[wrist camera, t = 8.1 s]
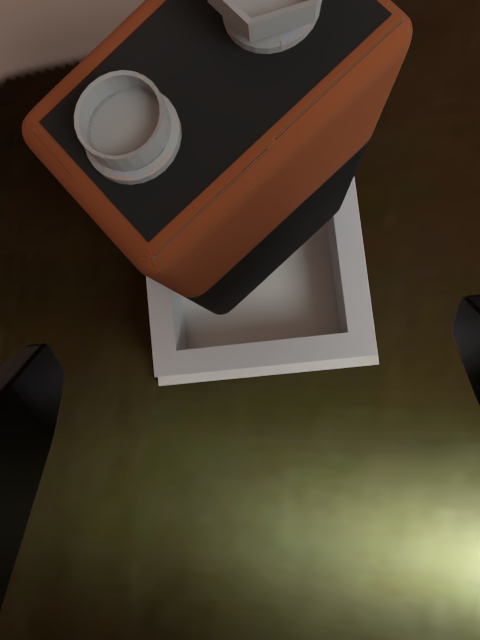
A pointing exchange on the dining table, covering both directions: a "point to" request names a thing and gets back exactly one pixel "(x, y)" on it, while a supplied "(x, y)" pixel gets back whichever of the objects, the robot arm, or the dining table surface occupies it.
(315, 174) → the battery
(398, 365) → the dining table surface
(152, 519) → the dining table surface
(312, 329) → the tray
